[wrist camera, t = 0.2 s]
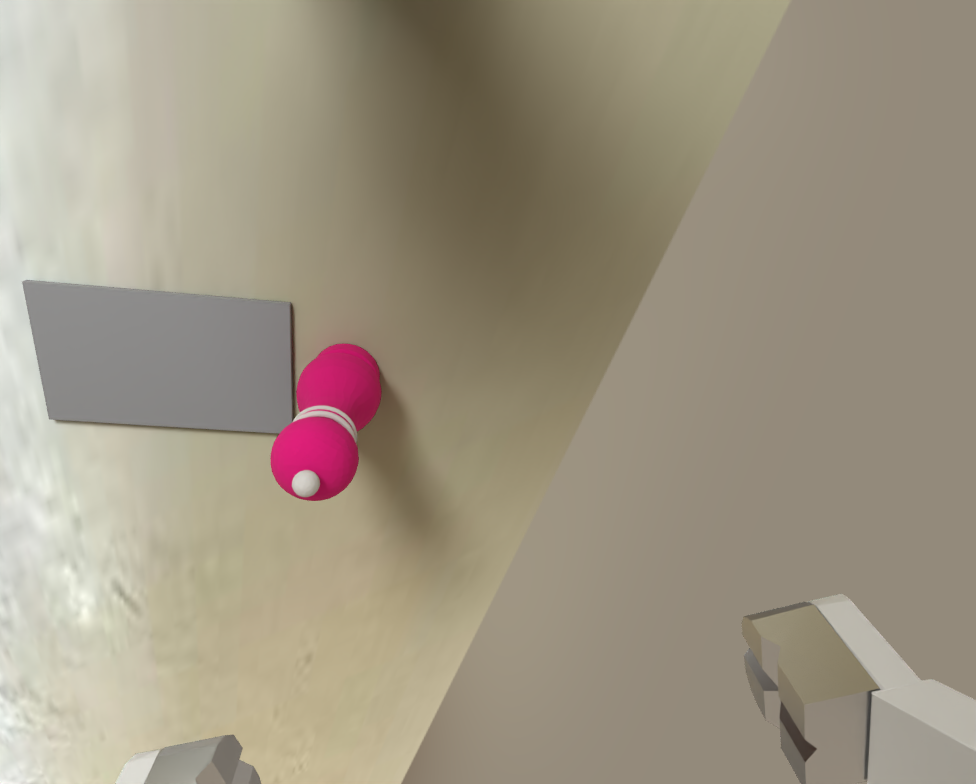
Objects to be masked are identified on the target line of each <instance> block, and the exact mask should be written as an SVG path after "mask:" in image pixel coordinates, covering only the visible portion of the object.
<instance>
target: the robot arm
mask: <svg viewBox="0 0 976 784" xmlns="http://www.w3.org/2000/svg"><path fill="white" fill-rule="evenodd" d="M742 634H743V637H744V638H745V640H746V642H747V643H748V645H749V647H750V648H749V650H748V651H747V652H746V654H745V655H744V660H745V669H746V674H747V678H748V681H749V684H750V688H751V691H752V693H753V696H754V698H755V700H756V703H757V705H758V707H759V709H760V710H761V712H762V714H763V716H764V718H765V720H766V721H768V722H769V723H771V724H773V725H774V726H776V727H777V728H779V729H780V737H781V749H782V751H783V752H784V754H785V756H786V758H787V760H788V761H789V763H790V765H791V767H792V769H793V770H794V772H795V774H796V776H797V778H798V779H799V781H800V783H801V784H857V783H862V782H867V784H976V700H974V699H972V698H970V697H968V696H966V695H964V694H962V693H960V692H958V691H956V690H954V689H952V688H950V687H948V686H946V685H944V684H941V683H940V682H937V681H935V680H933V679H929V680H924V681H921V680H920V679H919V677H918V676H917V675H916V674H915V673H914V672H913V671H912V669H911V668H910V667H909V666H908V665H907V664H906V663H905V662H904V661H903V659H902V658H901V657H900V656H899V655H898V654H897V652H896V651H895V650H894V649H893V648H892V647H891V646H890V644H889V643H888V642H887V641H886V640H885V639H884V638H883V637H882V635H881V634H880V633H879V632H878V631H877V630H876V629H875V628H874V626H873V625H872V624H871V623H870V622H869V621H868V620H867V619H866V617H865V616H864V615H863V614H862V613H861V612H860V610H859V609H858V608H857V607H856V606H855V605H854V604H853V602H852V601H851V600H850V599H849V598H848V597H846V596H844V595H842V594H839V595H834V596H830V597H825V598H821V599H816V600H812V601H808V602H802V603H798V604H793V605H789V606H785V607H781V608H777V609H773V610H768V611H764V612H760V613H756V614H752V615H748V616H744V617H743V620H742ZM242 749H243V748H242V746H241V745H240V743H239V742H238V741H237V739H236V738H235V736H234V735H225V736H220V737H215V738H210V739H205V740H200V741H195V742H190V743H185V744H180V745H174V746H169V747H165V748H161V749H156V750H152V751H147V752H142V753H137V754H135V755H134V756H133V757H132V758H131V759H130V760H129V761H127V762H126V763H125V765H124V767H123V769H122V771H121V773H120V775H119V777H118V779H117V781H116V783H115V784H261V781H260V777H259V775H258V774H257V772H256V770H255V768H254V767H253V766H251V765H249V764H247V763H245V762H243V761H241V760H239V758H240V755H241V752H242Z"/></svg>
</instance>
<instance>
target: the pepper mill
mask: <svg viewBox="0 0 976 784" xmlns="http://www.w3.org/2000/svg"><path fill="white" fill-rule="evenodd" d="M379 379H380V374H379V368H378V366H377V363H376V361H375V360H374V358H373V357H372V356H371V355H370V354H369V353H368V352H367V351H365V350H364V349H362V348H360V347H358V346H356V345H352V344H336V345H333V346H330V347H328V348H326V349H325V350H323V351H322V352H321V353H320V354H319V355H318V356H317V358H316V359H314V360H313V361H312V362H311V363H309V364H308V365H307V366H306V368H305V369H304V370H303V372H302V374H301V376H300V379H299V382H298V386H297V391H296V393H297V402H298V408H299V411H300V413H299V414H298V415H297V416H296V417H295V419H294V420H293V422H292V423H291V424H289V425H288V426H287V427H285V428H284V429H283V430H282V431H281V432H280V434H279V435H278V437H277V438H276V440H275V442H274V444H273V447H272V451H271V468H272V472H273V475H274V477H275V479H276V481H277V483H278V484H279V485H280V486H281V488H283V489H284V490H285V491H286V492H288V493H289V494H291V495H293V496H295V497H297V498H299V499H303V500H309V501H319V500H325V499H329V498H331V497H333V496H335V495H337V494H339V493H340V492H341V491H343V490H344V489H345V488H346V487H347V486H348V485H349V483H350V482H351V481H352V479H353V477H354V475H355V473H356V470H357V466H358V460H359V457H358V447H357V445H356V443H357V431H359V430H361V429H362V428H363V427H364V426H366V425H367V424H368V423H369V422H370V421H371V419H372V418H373V417H374V415H375V413H376V411H377V409H378V406H379V404H380V400H381V386H380V382H379Z"/></svg>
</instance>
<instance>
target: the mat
mask: <svg viewBox="0 0 976 784" xmlns="http://www.w3.org/2000/svg"><path fill="white" fill-rule="evenodd" d="M22 283H23V288H24V294H25V299H26V304H27V309H28V314H29V319H30V324H31V329H32V334H33V339H34V344H35V350H36V355H37V360H38V365H39V370H40V375H41V380H42V385H43V390H44V395H45V401H46V406H47V411H48V416H49V419H53V420H69V421H85V422H101V423H118V424H134V425H150V426H166V427H182V428H198V429H215V430H231V431H247V432H263V433H279V434H280V432H281V431H282V430H283V429H284V428H285V427H287V426H288V425H289V424H291V423H292V422H293V375H292V322H291V303H290V302H278V301H267V300H255V299H243V298H231V297H220V296H208V295H196V294H184V293H173V292H161V291H149V290H138V289H126V288H114V287H102V286H91V285H79V284H67V283H55V282H44V281H32V280H25V281H23V282H22Z"/></svg>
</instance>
